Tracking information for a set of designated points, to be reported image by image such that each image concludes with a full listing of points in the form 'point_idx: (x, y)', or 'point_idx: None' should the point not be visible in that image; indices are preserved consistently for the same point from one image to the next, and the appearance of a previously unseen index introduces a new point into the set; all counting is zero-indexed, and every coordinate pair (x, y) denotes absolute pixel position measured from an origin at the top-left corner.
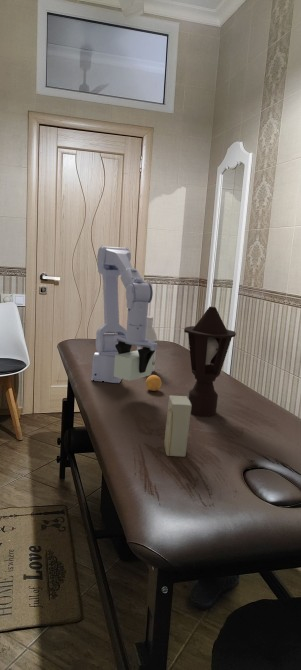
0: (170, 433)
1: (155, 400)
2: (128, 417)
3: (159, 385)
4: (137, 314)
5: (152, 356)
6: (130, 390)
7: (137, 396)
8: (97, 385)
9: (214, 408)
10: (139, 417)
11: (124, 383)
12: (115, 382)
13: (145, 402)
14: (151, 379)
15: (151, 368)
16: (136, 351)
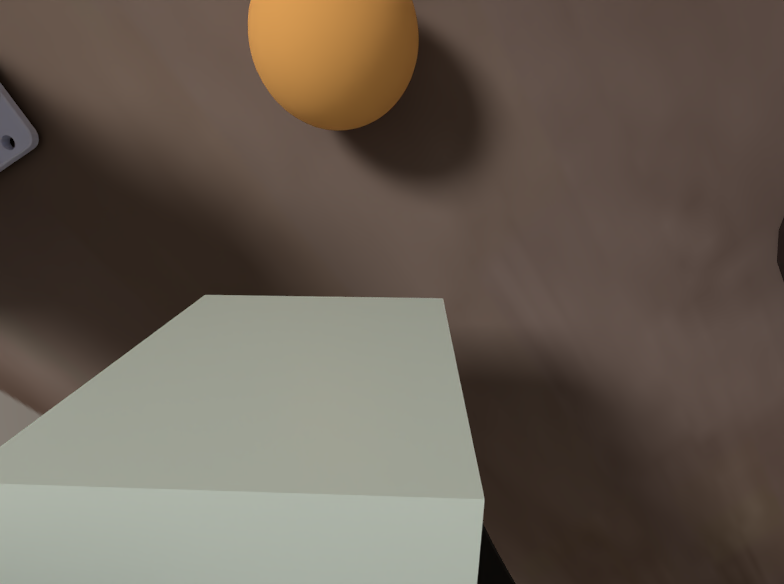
0: None
1: (502, 266)
2: (531, 577)
3: (417, 54)
4: None
5: (472, 455)
6: (230, 212)
7: (358, 289)
8: (8, 301)
9: None
10: (575, 548)
11: (56, 85)
12: (17, 156)
13: (472, 349)
14: (342, 108)
15: (448, 335)
16: (58, 572)
